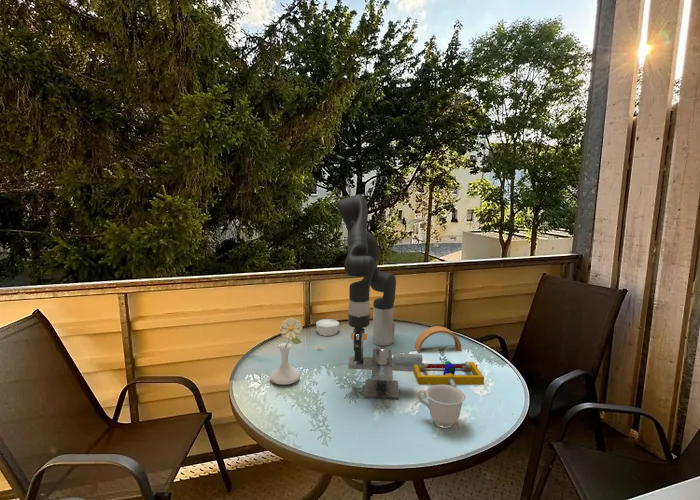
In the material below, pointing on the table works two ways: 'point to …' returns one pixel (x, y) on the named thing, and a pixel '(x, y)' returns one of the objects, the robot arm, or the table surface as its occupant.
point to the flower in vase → (285, 371)
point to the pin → (361, 347)
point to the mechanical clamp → (449, 374)
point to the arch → (434, 330)
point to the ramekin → (327, 327)
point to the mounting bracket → (319, 348)
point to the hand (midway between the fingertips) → (358, 355)
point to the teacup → (443, 403)
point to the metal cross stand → (384, 371)
